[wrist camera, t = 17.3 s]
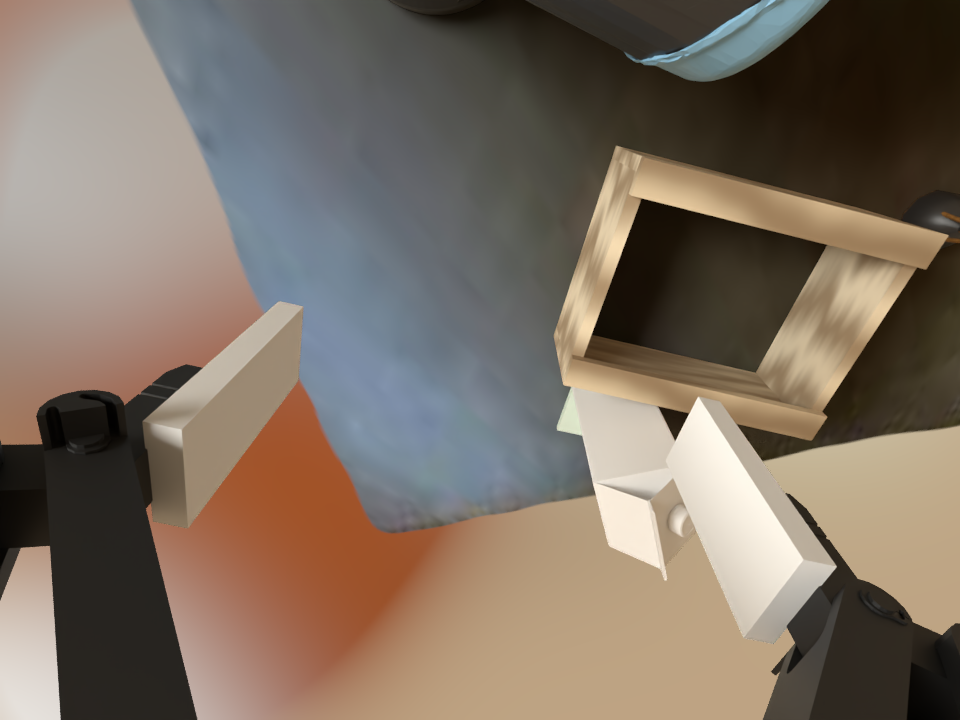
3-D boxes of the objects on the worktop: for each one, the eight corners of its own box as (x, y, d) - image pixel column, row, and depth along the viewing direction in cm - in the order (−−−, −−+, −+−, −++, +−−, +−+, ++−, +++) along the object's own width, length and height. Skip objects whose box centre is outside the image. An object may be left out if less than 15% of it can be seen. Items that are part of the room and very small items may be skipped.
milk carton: (584, 438, 55) (618, 588, 38) (570, 384, 52) (601, 521, 35) (650, 425, 54) (715, 573, 37) (640, 368, 51) (706, 502, 34)
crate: (616, 145, 42) (644, 157, 33) (860, 208, 43) (948, 235, 35) (553, 335, 50) (563, 384, 41) (760, 383, 51) (811, 440, 43)
